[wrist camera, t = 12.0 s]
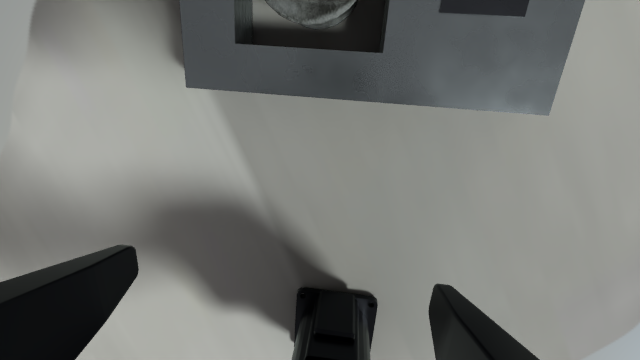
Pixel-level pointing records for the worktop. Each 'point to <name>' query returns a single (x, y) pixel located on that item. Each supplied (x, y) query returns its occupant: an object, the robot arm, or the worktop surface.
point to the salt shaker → (314, 11)
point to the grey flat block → (396, 55)
